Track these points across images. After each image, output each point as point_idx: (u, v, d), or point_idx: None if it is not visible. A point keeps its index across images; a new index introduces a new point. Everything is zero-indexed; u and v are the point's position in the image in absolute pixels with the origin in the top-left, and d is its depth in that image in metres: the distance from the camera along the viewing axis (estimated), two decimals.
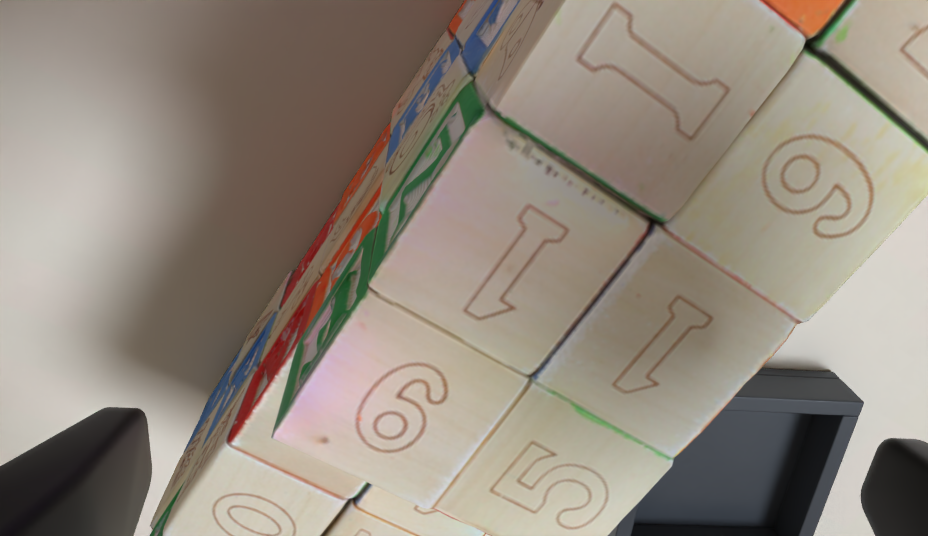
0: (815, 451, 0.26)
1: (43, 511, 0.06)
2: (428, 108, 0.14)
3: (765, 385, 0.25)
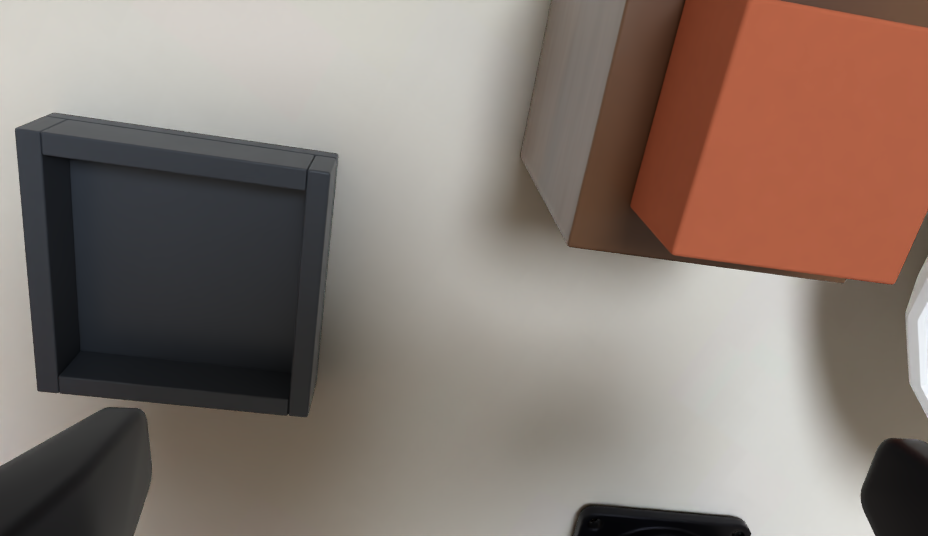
0: None
1: (43, 511, 0.06)
2: None
3: None
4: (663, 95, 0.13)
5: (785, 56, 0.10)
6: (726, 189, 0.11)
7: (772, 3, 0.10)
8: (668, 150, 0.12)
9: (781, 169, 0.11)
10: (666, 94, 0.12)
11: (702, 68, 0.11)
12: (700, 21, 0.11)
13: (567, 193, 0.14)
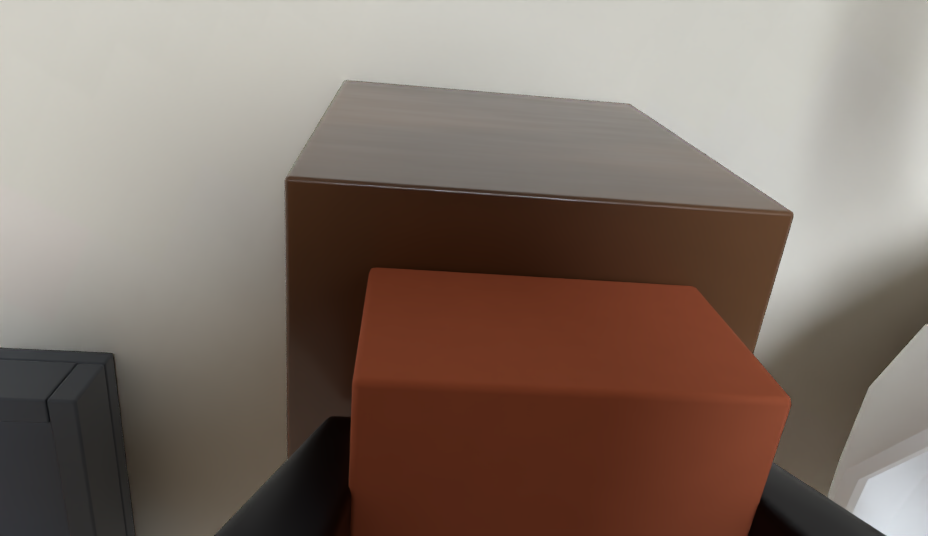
0: None
1: (339, 519, 0.06)
2: None
3: None
4: None
5: (436, 451, 0.06)
6: None
7: (390, 390, 0.06)
8: None
9: None
10: None
11: None
12: None
13: None
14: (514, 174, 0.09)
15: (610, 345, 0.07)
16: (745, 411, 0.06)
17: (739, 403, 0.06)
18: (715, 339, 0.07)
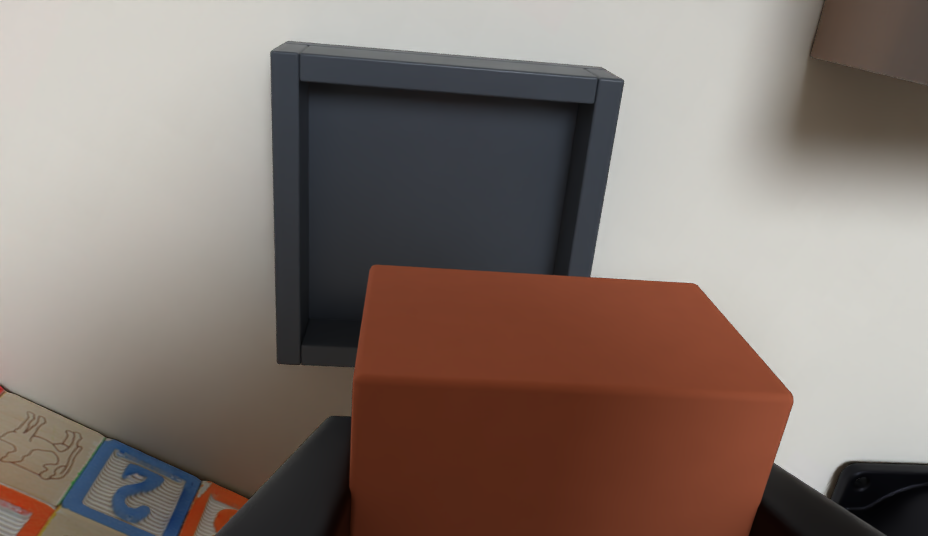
0: None
1: (339, 519, 0.06)
2: None
3: None
4: None
5: (437, 449, 0.06)
6: None
7: (391, 386, 0.06)
8: None
9: None
10: None
11: None
12: None
13: None
14: None
15: (611, 342, 0.07)
16: (747, 408, 0.06)
17: (741, 400, 0.06)
18: (717, 336, 0.07)
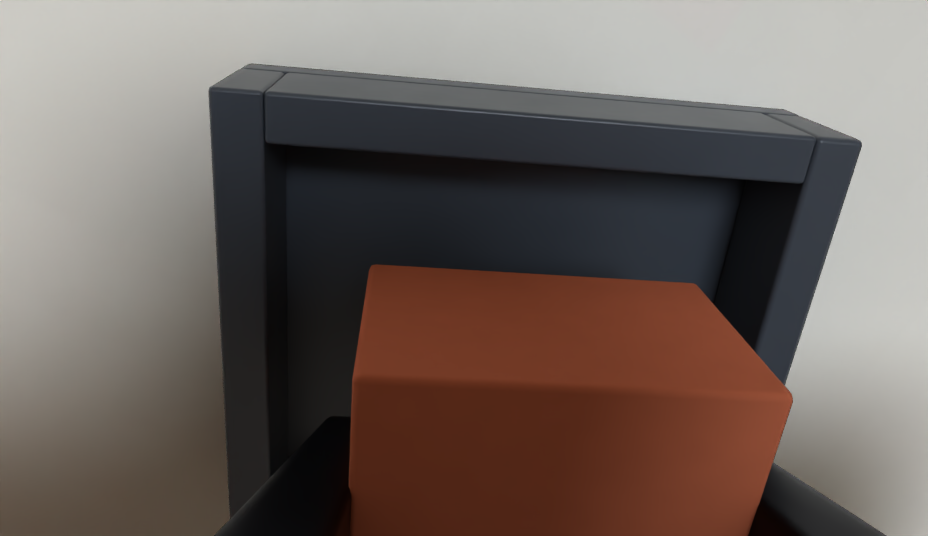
0: None
1: (339, 519, 0.06)
2: None
3: None
4: None
5: (437, 446, 0.06)
6: None
7: (391, 386, 0.06)
8: None
9: None
10: None
11: None
12: None
13: None
14: None
15: (611, 342, 0.07)
16: (746, 407, 0.06)
17: (741, 400, 0.06)
18: (715, 336, 0.07)
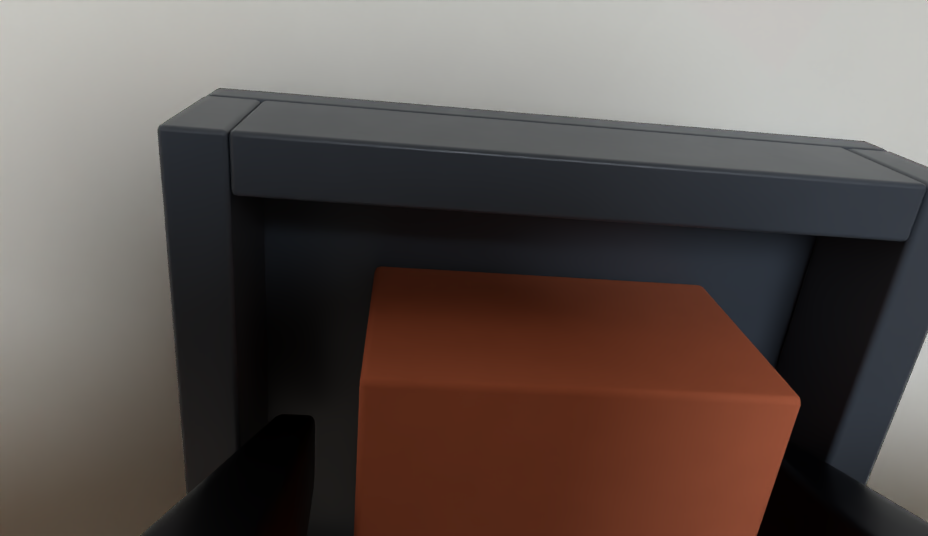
0: None
1: (273, 517, 0.06)
2: None
3: None
4: None
5: (443, 451, 0.06)
6: None
7: (398, 389, 0.06)
8: None
9: None
10: None
11: None
12: None
13: None
14: None
15: (618, 344, 0.07)
16: (754, 410, 0.06)
17: (749, 402, 0.06)
18: (723, 338, 0.07)
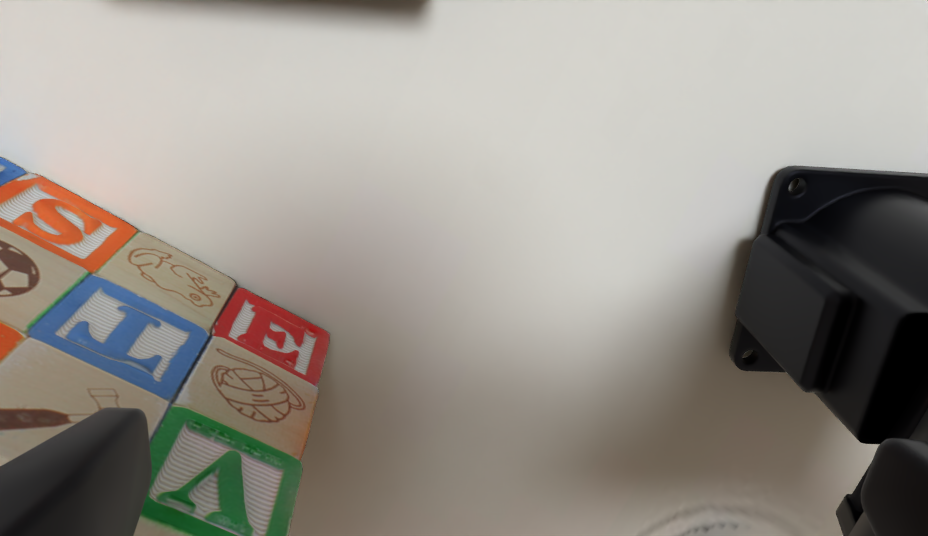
0: None
1: (43, 511, 0.06)
2: None
3: None
4: None
5: None
6: None
7: None
8: None
9: None
10: None
11: None
12: None
13: None
14: None
15: None
16: None
17: None
18: None
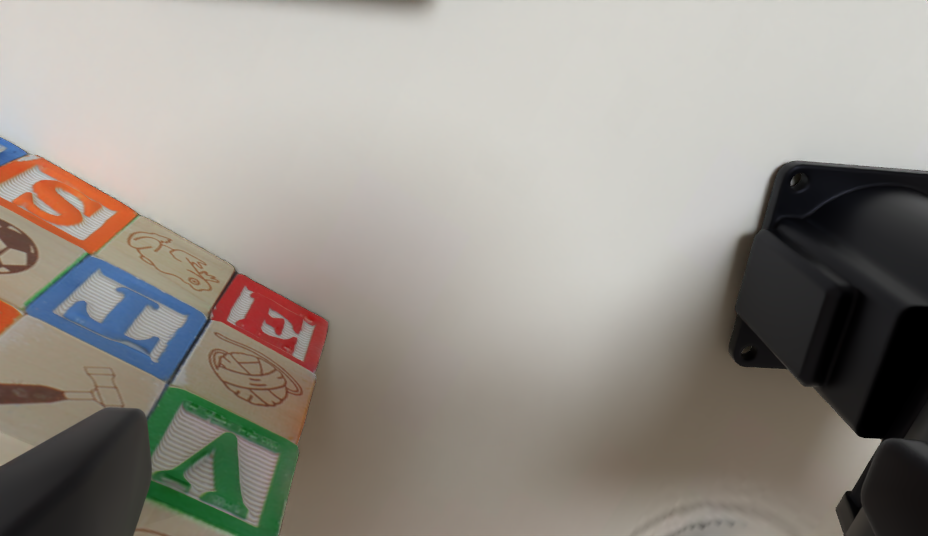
0: None
1: (43, 511, 0.06)
2: None
3: None
4: None
5: None
6: None
7: None
8: None
9: None
10: None
11: None
12: None
13: None
14: None
15: None
16: None
17: None
18: None
